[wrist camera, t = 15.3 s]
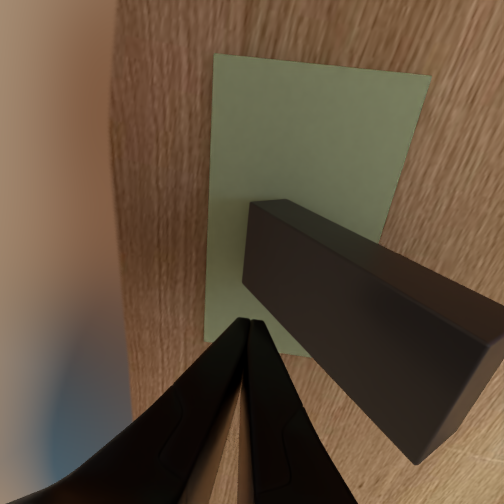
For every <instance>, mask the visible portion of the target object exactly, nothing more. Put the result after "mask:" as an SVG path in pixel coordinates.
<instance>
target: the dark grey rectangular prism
mask: <svg viewBox="0 0 504 504" xmlns="http://www.w3.org/2000/svg"><path fill="white" fill-rule="evenodd" d="M242 284H243V285H244V286H245V287H246V288H247V289H248V290H249V291H250V292H251V293H252V294H253V296H254V297H255V298H256V299H257V300H258V301H259V302H260V303H261V304H262V305H263V306H264V307H265V308H266V309H267V310H268V311H269V312H270V313H271V315H272V316H273V317H274V318H275V319H276V320H277V321H278V322H279V323H280V324H281V325H282V326H283V327H284V328H285V329H286V330H287V331H288V332H289V334H290V335H291V336H292V337H293V338H294V339H295V340H296V341H297V342H298V343H299V344H300V345H301V346H302V347H303V348H304V349H305V350H306V351H307V353H308V354H309V355H310V356H311V357H312V358H313V359H314V360H315V361H316V362H317V363H318V364H319V365H320V366H321V367H322V368H323V369H324V370H325V372H326V373H327V374H328V375H329V376H330V377H331V378H332V379H333V380H334V381H335V382H336V383H337V384H338V385H339V386H340V387H341V388H342V389H343V391H344V392H345V393H346V394H347V395H348V396H349V397H350V398H351V399H352V400H353V401H354V402H355V403H356V404H357V405H358V406H359V407H360V408H361V410H362V411H363V412H364V413H365V414H366V415H367V416H368V417H369V418H370V419H371V420H372V421H373V422H374V423H375V424H376V425H377V426H378V427H379V428H380V430H381V431H382V432H383V433H384V434H385V435H386V436H387V437H388V438H389V439H390V440H391V441H392V442H393V443H394V444H395V445H396V446H397V447H398V449H399V450H400V451H401V452H402V453H403V454H404V455H405V456H406V457H407V458H408V459H409V460H410V461H411V462H412V463H413V464H414V465H419V464H420V463H421V462H422V461H423V460H424V459H426V458H427V457H428V456H429V455H430V454H431V453H432V452H433V451H434V450H436V449H437V448H438V447H439V446H440V445H441V444H442V443H443V442H445V441H446V440H447V439H448V438H449V437H450V436H451V435H452V434H454V433H455V432H456V431H457V429H458V428H459V426H460V425H461V423H462V421H463V420H464V418H465V417H466V415H467V414H468V412H469V411H470V409H471V408H472V406H473V405H474V403H475V402H476V400H477V399H478V397H479V396H480V394H481V393H482V391H483V390H484V388H485V387H486V385H487V384H488V382H489V381H490V379H491V378H492V376H493V374H494V373H495V371H496V370H497V368H498V367H499V365H500V364H501V362H502V361H503V359H504V306H503V305H501V304H499V303H497V302H495V301H493V300H491V299H489V298H487V297H485V296H483V295H481V294H479V293H477V292H475V291H473V290H471V289H469V288H467V287H465V286H463V285H460V284H458V283H456V282H454V281H452V280H450V279H448V278H446V277H444V276H442V275H440V274H438V273H436V272H434V271H432V270H430V269H428V268H426V267H424V266H422V265H420V264H418V263H416V262H414V261H412V260H410V259H408V258H406V257H404V256H402V255H400V254H397V253H395V252H393V251H391V250H389V249H387V248H385V247H383V246H381V245H379V244H377V243H375V242H373V241H371V240H369V239H367V238H365V237H363V236H361V235H359V234H357V233H355V232H353V231H351V230H349V229H347V228H345V227H343V226H341V225H339V224H337V223H334V222H332V221H330V220H328V219H326V218H324V217H322V216H320V215H318V214H316V213H314V212H312V211H310V210H308V209H306V208H304V207H302V206H300V205H298V204H296V203H294V202H292V201H290V200H288V199H278V200H266V201H253V202H250V203H249V213H248V223H247V233H246V243H245V254H244V264H243V274H242Z"/></svg>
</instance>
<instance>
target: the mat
mask: <svg viewBox="0 0 504 504" xmlns="http://www.w3.org/2000/svg"><path fill="white" fill-rule="evenodd" d="M431 78H432V76H429V75H420V74H410V73H401V72H391V71H381V70H372V69H362V68H352V67H343V66H333V65H323V64H314V63H304V62H294V61H285V60H275V59H265V58H256V57H246V56H236V55H227V54H217V53H214V58H213V87H212V116H211V145H210V174H209V203H208V232H207V260H206V289H205V318H204V341H205V342H212V343H213V342H214V341H215V340H216V339H217V338H218V337H219V336H220V335H221V334H222V333H223V332H224V331H225V330H226V329H227V328H228V327H229V325H230V324H231V323H232V322H233V321H234V320H235V319H236V318H237V317H244V318H249V319H250V322H251V320H252V319H257V320H263V321H264V322H265V324H266V326H267V328H268V330H269V333H270V335H271V337H272V339H273V341H274V343H275V346H276V348H277V350H278V352H279V353H285V354H291V355H298V356H304V357H311V356H310V355H309V354H308V353H307V351H306V350H305V349H304V348H303V347H302V346H301V345H300V344H299V343H298V342H297V341H296V340H295V339H294V338H293V337H292V336H291V335H290V334H289V332H288V331H287V330H286V329H285V328H284V327H283V326H282V325H281V324H280V323H279V322H278V321H277V320H276V319H275V318H274V317H273V316H272V315H271V313H270V312H269V311H268V310H267V309H266V308H265V307H264V306H263V305H262V304H261V303H260V302H259V301H258V300H257V299H256V298H255V297H254V296H253V294H252V293H251V292H250V291H249V290H248V289H247V288H246V287H245V286H244V285H243V284H242V274H243V264H244V254H245V243H246V233H247V223H248V213H249V203H250V202H253V201H266V200H278V199H288V200H290V201H292V202H294V203H296V204H298V205H300V206H302V207H304V208H306V209H308V210H310V211H312V212H314V213H316V214H318V215H320V216H322V217H324V218H326V219H328V220H330V221H332V222H334V223H337V224H339V225H341V226H343V227H345V228H347V229H349V230H351V231H353V232H355V233H357V234H359V235H361V236H363V237H365V238H367V239H369V240H371V241H373V242H375V243H377V244H378V242H379V239H380V236H381V233H382V230H383V227H384V224H385V221H386V218H387V214H388V211H389V208H390V205H391V202H392V199H393V196H394V193H395V190H396V187H397V183H398V180H399V177H400V174H401V171H402V168H403V165H404V162H405V159H406V155H407V152H408V149H409V146H410V143H411V140H412V137H413V134H414V131H415V128H416V124H417V121H418V118H419V115H420V112H421V109H422V106H423V103H424V100H425V96H426V93H427V90H428V87H429V84H430V81H431ZM311 358H312V357H311Z"/></svg>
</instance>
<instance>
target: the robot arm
mask: <svg viewBox="0 0 504 504" xmlns="http://www.w3.org/2000/svg"><path fill="white" fill-rule="evenodd" d="M241 383H242V385H241ZM240 389H241V396H240V426H239V459H238V492H237V504H358V503H357V501H356V500H355V498H354V496H353V495H352V493H351V491H350V490H349V488H348V486H347V485H346V483H345V481H344V480H343V478H342V476H341V475H340V473H339V471H338V470H337V468H336V466H335V465H334V463H333V462H332V460H331V458H330V456H329V455H328V453H327V451H326V449H325V448H324V446H323V444H322V442H321V441H320V439H319V437H318V435H317V433H316V431H315V429H314V427H313V425H312V423H311V421H310V419H309V417H308V415H307V413H306V410H305V408H304V407H303V404H302V402H301V400H300V398H299V395H298V393H297V391H296V389H295V387H294V385H293V382H292V380H291V378H290V376H289V374H288V372H287V369H286V367H285V365H284V363H283V361H282V359H281V356H280V354H279V352H278V350H277V348H276V346H275V343H274V341H273V339H272V337H271V335H270V333H269V330H268V328H267V326H266V324H265V322H264V321H263V320H257V319H252V320H251V322H250V319H249V318H244V317H237V318H236V319H235V320H234V321H233V322H232V323H231V324H230V325H229V327H228V328H227V329H226V330H225V331H224V332H223V333H222V334H221V335H220V336H219V337H218V338H217V339H216V340H215V341H214V342H213V343H212V344H211V345H210V346H209V347H208V348H207V349H206V350H205V351H204V352H203V353H202V354H201V356H200V357H199V358H198V359H197V360H196V361H195V362H194V363H193V364H192V365H191V366H190V367H189V368H188V369H187V370H186V371H185V372H184V373H183V374H182V375H181V376H180V377H179V378H178V379H177V380H176V381H175V382H174V384H173V385H172V386H170V387H169V388H168V390H167V391H166V392H165V393H164V394H163V395H162V396H161V397H160V398H159V399H158V400H157V401H156V402H155V403H154V404H153V405H152V406H150V407H149V408H148V409H147V410H146V411H145V412H144V413H143V414H142V415H141V416H139V417H138V418H137V419H136V420H135V421H134V422H132V423H131V424H130V425H129V426H128V427H127V428H125V429H124V430H123V431H122V432H121V433H119V434H118V435H117V436H116V437H115V438H113V439H112V440H111V441H110V442H109V443H107V444H106V445H105V446H104V447H103V448H102V449H100V450H99V451H98V452H97V453H95V454H94V455H93V456H92V457H91V458H89V459H88V460H87V461H86V462H85V463H83V464H82V465H81V466H80V467H78V468H77V469H76V470H75V471H73V472H72V473H70V474H69V475H67V476H66V477H64V478H63V479H61V480H60V481H58V482H56V483H54V484H53V485H51V486H49V487H47V488H45V489H42V490H40V491H37V492H35V493H32V494H30V495H27V496H25V497H22V498H20V499H17V500H14V501H12V502H10V503H7V504H209V500H210V497H211V493H212V490H213V486H214V483H215V479H216V475H217V472H218V468H219V465H220V461H221V458H222V454H223V451H224V447H225V444H226V440H227V436H228V433H229V429H230V426H231V422H232V419H233V415H234V412H235V408H236V404H237V401H238V397H239V393H240Z"/></svg>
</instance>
